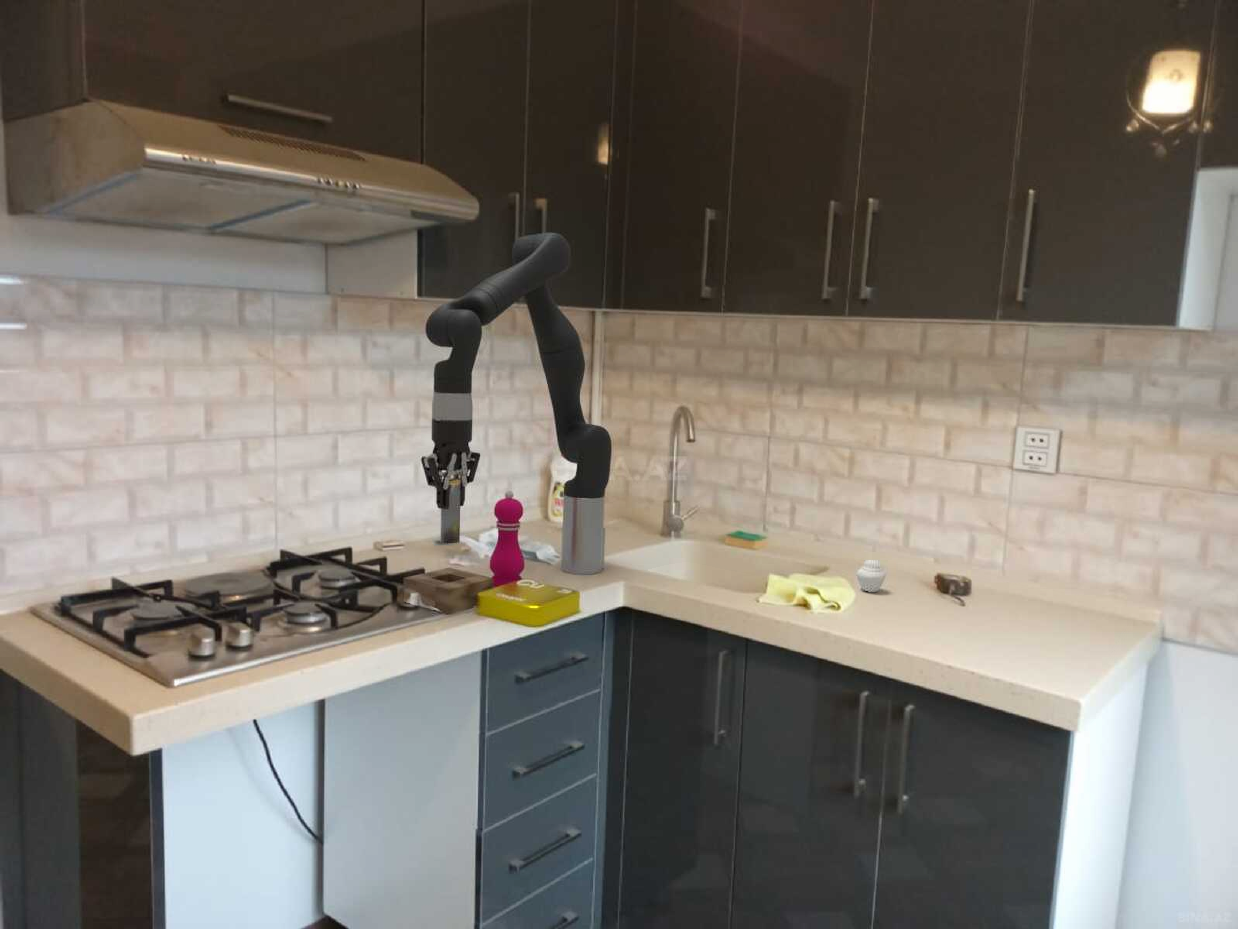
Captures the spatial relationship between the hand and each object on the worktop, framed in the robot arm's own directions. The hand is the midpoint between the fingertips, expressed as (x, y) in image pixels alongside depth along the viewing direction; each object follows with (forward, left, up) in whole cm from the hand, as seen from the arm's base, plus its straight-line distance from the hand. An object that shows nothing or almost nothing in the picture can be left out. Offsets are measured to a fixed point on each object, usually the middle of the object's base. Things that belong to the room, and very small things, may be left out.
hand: (450, 506), depth 179 cm
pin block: (0, 0, -19) cm, 19 cm away
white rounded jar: (-70, +58, -19) cm, 93 cm away
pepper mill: (-18, -1, -19) cm, 26 cm away
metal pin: (0, 0, -7) cm, 7 cm away
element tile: (-6, +15, -20) cm, 25 cm away
